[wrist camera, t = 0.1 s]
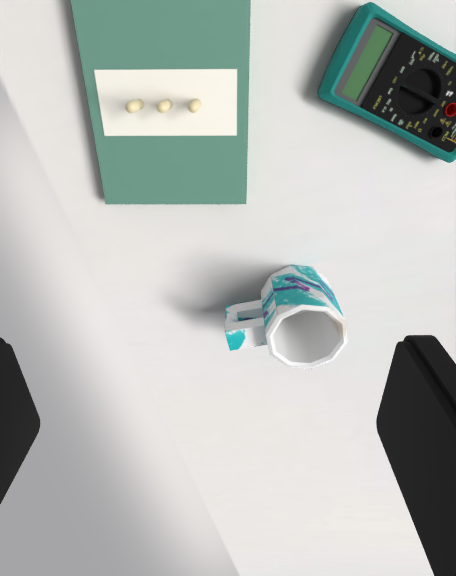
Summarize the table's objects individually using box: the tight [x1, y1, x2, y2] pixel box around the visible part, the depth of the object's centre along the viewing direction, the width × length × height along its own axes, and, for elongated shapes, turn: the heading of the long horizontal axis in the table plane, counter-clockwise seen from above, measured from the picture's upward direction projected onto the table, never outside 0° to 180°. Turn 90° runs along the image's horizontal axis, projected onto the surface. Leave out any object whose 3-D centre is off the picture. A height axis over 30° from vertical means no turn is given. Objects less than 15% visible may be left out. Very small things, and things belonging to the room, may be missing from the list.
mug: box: [225, 265, 347, 369], centre depth 41 cm, size 8×12×8 cm
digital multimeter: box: [318, 2, 456, 163], centre depth 33 cm, size 7×15×3 cm, turn 67°
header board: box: [71, 0, 250, 204], centre depth 31 cm, size 22×14×5 cm, turn 0°
